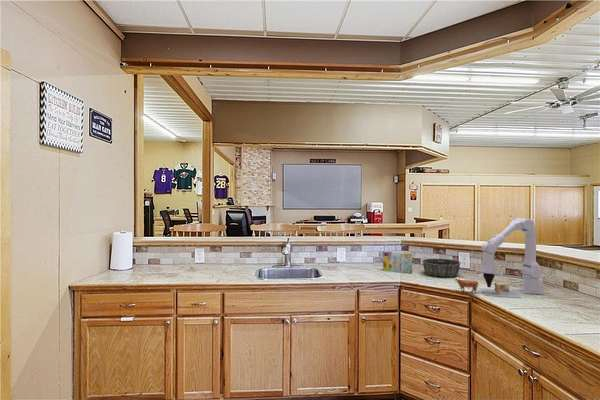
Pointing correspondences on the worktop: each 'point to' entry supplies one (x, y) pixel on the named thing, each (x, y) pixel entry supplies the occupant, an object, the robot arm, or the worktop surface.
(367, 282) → the worktop surface
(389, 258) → the snack box
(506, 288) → the fence fixed
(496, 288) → the fence hinged
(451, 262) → the dark grey woven basket
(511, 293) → the card
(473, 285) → the bull figurine
